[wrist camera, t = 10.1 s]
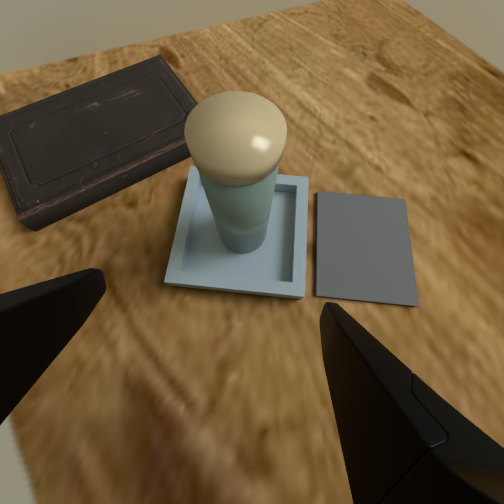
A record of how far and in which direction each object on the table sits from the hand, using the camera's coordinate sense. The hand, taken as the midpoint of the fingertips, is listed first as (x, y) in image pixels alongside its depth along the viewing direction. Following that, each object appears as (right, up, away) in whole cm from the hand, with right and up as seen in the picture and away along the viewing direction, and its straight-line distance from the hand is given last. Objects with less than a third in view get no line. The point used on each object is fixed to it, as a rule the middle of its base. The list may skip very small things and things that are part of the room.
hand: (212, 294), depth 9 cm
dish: (+1, +4, +16) cm, 16 cm away
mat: (+14, +2, +15) cm, 21 cm away
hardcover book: (-16, +16, +20) cm, 30 cm away
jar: (+1, +4, +15) cm, 16 cm away
